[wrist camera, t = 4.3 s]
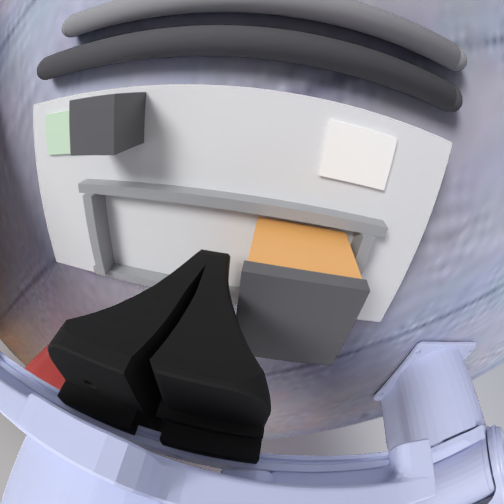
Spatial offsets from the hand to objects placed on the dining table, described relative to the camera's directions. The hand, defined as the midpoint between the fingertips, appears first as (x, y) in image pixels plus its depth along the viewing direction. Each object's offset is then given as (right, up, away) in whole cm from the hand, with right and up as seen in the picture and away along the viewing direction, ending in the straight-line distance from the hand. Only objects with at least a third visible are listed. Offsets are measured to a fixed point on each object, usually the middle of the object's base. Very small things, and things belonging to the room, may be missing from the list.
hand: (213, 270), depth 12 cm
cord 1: (+2, +12, -3) cm, 13 cm away
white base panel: (-1, +4, +2) cm, 5 cm away
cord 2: (0, +10, -2) cm, 11 cm away
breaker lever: (+4, 0, +1) cm, 4 cm away
